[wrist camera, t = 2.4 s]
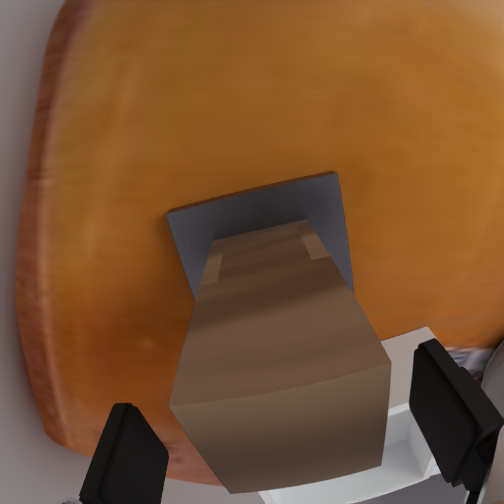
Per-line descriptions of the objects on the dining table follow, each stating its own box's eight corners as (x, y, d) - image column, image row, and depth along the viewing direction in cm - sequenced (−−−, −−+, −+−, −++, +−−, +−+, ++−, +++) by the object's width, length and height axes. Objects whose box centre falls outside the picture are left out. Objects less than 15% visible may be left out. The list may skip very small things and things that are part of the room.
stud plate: (169, 209, 17) (139, 243, 12) (332, 171, 16) (367, 189, 11) (215, 341, 20) (207, 402, 15) (351, 311, 20) (379, 366, 15)
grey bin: (231, 375, 21) (228, 442, 16) (427, 326, 20) (466, 378, 15) (271, 468, 27) (275, 517, 21) (410, 433, 26) (428, 478, 20)
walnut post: (212, 240, 17) (168, 405, 6) (306, 219, 16) (391, 362, 6) (237, 319, 18) (230, 493, 8) (321, 300, 18) (381, 465, 8)
